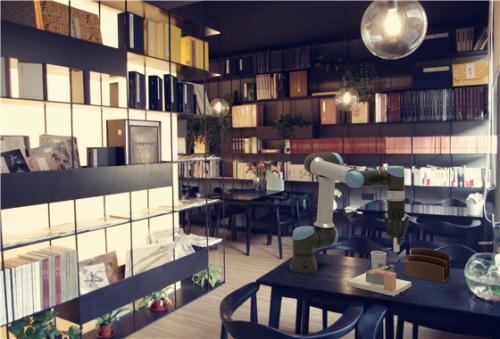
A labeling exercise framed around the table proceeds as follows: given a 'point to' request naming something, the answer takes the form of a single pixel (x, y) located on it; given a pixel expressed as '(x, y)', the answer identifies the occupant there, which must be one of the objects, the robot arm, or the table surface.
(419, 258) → the letter holder
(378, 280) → the board
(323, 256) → the table surface
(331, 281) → the table surface
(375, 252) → the cup
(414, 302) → the table surface
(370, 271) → the translucent flat bar
